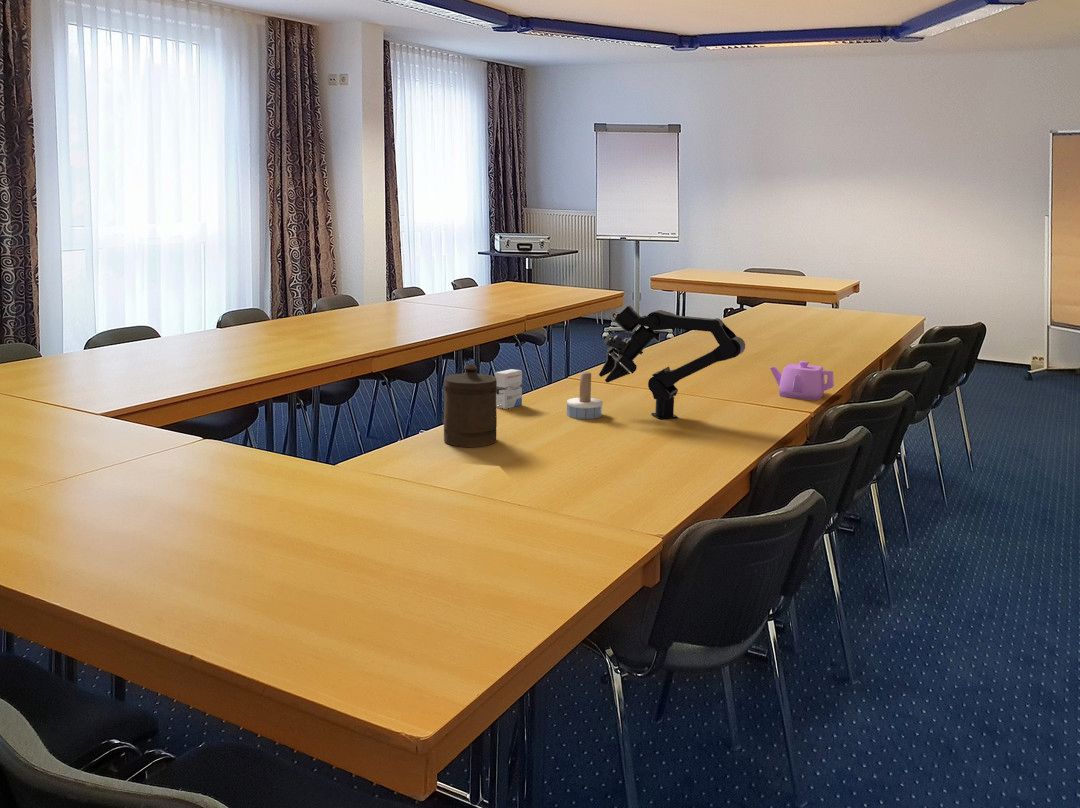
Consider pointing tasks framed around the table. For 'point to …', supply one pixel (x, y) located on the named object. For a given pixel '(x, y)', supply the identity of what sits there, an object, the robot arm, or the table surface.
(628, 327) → the robot arm
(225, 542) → the table surface
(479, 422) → the wooden container
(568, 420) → the table surface
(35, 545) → the table surface
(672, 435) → the table surface
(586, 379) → the lid
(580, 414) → the bowl
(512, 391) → the ink box
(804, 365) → the teakettle
